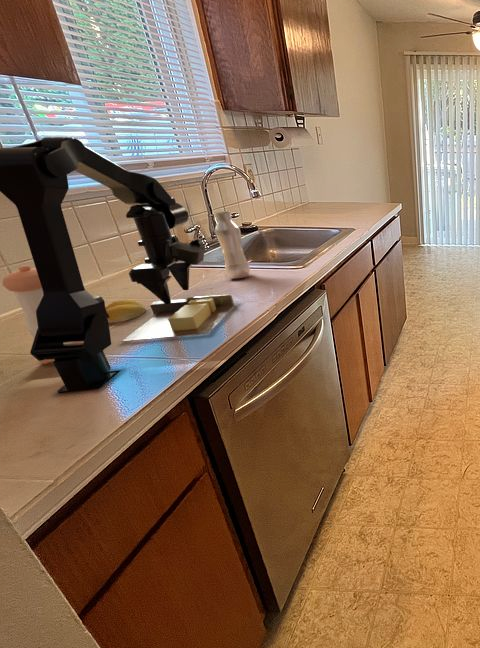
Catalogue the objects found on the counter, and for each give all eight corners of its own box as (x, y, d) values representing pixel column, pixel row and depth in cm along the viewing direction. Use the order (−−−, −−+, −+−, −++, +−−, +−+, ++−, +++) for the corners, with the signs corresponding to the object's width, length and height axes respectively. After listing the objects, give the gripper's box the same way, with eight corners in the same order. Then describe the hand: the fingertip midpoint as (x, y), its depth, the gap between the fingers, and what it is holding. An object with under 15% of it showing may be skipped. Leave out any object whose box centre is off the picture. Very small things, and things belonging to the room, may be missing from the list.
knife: (235, 303, 103) (232, 292, 102) (232, 306, 101) (229, 295, 100) (158, 310, 100) (153, 299, 99) (153, 313, 98) (149, 302, 97)
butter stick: (196, 328, 90) (192, 316, 89) (172, 331, 89) (167, 319, 88) (211, 314, 97) (207, 303, 96) (188, 316, 96) (184, 305, 95)
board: (209, 336, 88) (208, 333, 88) (122, 344, 85) (121, 341, 85) (237, 305, 104) (236, 302, 104) (165, 311, 101) (164, 308, 101)
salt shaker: (42, 356, 81) (-7, 266, 73) (90, 343, 86) (49, 258, 78) (45, 369, 77) (-6, 275, 69) (95, 354, 82) (52, 265, 74)
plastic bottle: (235, 274, 128) (218, 210, 119) (256, 274, 127) (240, 210, 119) (223, 280, 122) (203, 214, 114) (244, 281, 122) (226, 214, 113)
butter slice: (213, 312, 98) (210, 301, 97) (191, 314, 98) (187, 302, 96) (216, 309, 100) (213, 298, 99) (194, 311, 99) (190, 300, 98)
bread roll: (104, 328, 93) (97, 313, 91) (104, 316, 99) (97, 301, 97) (148, 318, 98) (142, 303, 96) (146, 307, 104) (140, 293, 102)
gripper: (174, 241, 85) (196, 308, 92) (210, 224, 102) (227, 281, 108) (115, 245, 83) (142, 313, 90) (161, 226, 100) (181, 284, 106)
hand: (177, 296), depth 99 cm, fingers open, 9 cm apart
